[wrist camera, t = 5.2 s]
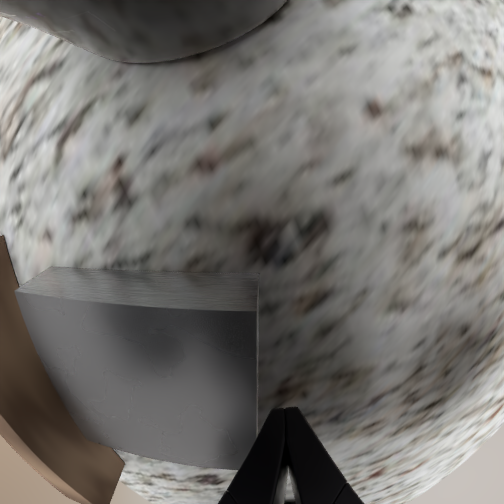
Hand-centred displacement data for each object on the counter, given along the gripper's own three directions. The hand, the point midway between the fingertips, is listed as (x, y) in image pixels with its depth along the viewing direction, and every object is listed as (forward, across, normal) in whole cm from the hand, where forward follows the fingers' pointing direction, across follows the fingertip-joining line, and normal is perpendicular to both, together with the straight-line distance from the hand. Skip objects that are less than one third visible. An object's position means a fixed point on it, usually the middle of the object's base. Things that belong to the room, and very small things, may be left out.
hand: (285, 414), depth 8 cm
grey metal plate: (+2, +4, -2) cm, 5 cm away
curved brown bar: (+1, +11, 0) cm, 11 cm away
